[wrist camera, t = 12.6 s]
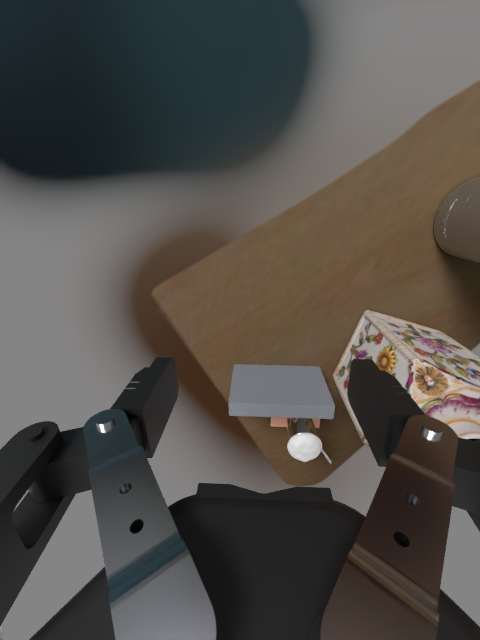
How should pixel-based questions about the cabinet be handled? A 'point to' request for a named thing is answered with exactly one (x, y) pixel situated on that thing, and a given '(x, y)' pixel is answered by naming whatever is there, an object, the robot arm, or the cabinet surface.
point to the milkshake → (303, 439)
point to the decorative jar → (418, 370)
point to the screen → (280, 392)
